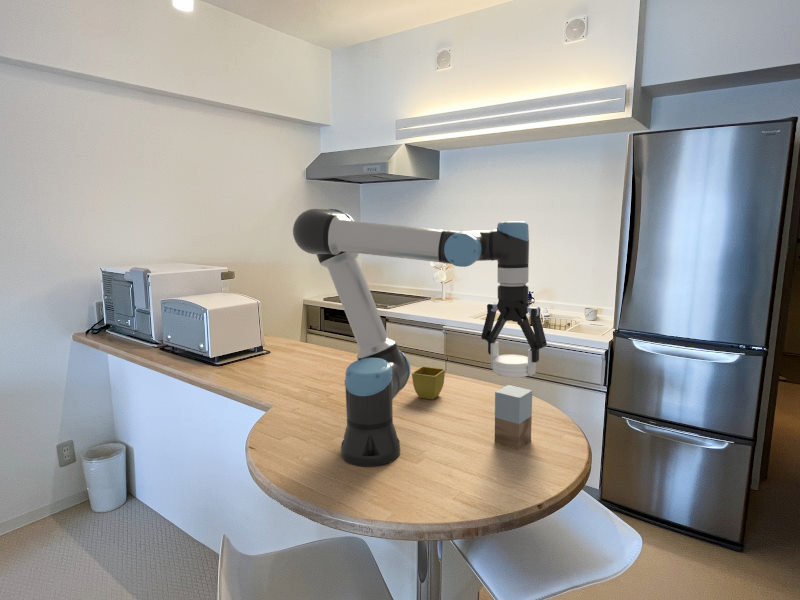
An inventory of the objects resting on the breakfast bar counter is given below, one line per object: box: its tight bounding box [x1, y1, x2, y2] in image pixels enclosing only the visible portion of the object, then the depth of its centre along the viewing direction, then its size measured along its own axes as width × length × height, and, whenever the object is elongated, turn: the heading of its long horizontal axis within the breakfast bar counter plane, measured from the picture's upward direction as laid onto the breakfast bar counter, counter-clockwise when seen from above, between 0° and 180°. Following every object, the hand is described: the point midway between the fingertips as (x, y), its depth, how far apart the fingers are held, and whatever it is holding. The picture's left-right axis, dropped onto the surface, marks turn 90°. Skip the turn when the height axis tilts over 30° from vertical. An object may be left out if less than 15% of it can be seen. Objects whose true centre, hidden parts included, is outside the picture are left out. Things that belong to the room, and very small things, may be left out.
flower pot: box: [411, 366, 446, 400], centre depth 162 cm, size 9×9×9 cm
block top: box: [494, 384, 533, 424], centre depth 127 cm, size 7×7×7 cm
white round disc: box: [492, 354, 529, 379], centre depth 124 cm, size 10×10×4 cm
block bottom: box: [494, 415, 533, 451], centre depth 128 cm, size 7×7×7 cm
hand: (512, 370), depth 124 cm, fingers closed on white round disc, 10 cm apart
